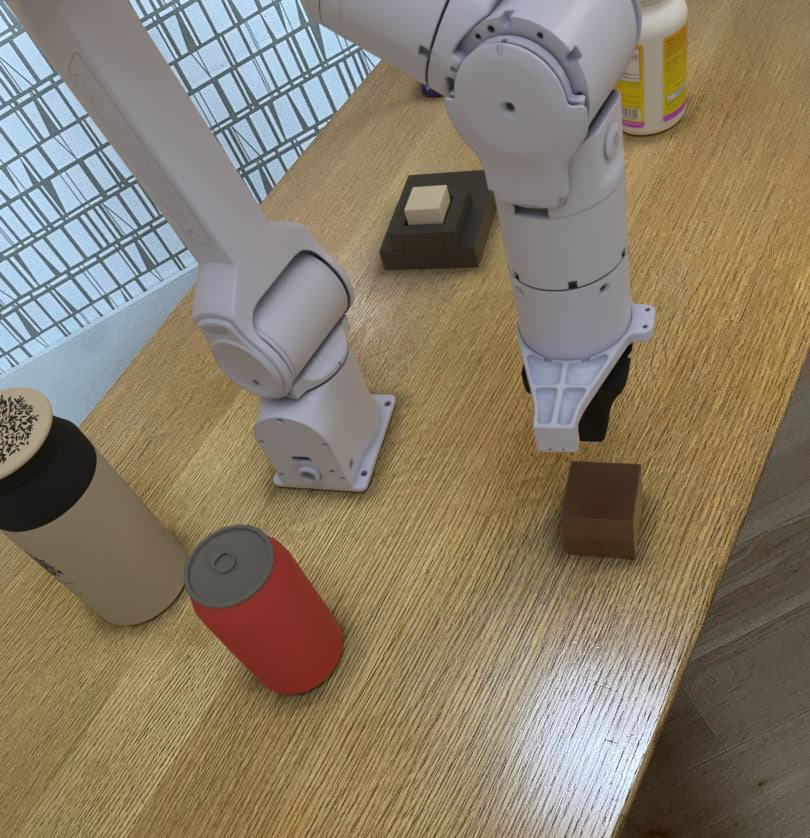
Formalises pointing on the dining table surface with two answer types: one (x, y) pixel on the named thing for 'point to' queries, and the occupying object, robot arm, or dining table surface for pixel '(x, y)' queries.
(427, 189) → the key
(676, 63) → the supplement bottle
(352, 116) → the dining table surface
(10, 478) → the travel mug
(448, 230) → the button base
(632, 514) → the walnut block
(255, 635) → the beer can
